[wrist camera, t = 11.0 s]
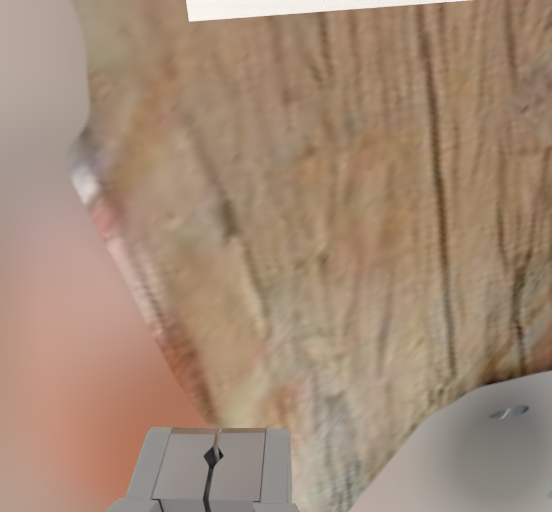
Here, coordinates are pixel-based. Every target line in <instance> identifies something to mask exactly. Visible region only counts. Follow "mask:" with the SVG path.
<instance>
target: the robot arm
mask: <svg viewBox="0 0 552 512" xmlns="http://www.w3.org/2000/svg"><path fill="white" fill-rule="evenodd" d="M106 512H300V511H299V510H298V508H297V506H296V504H295V503H292V468H291V437H290V429H267V428H223V429H222V431H221V433H220V430H219V429H203V428H202V429H201V428H175V427H151V429H150V430H149V432H148V433H147V435H146V438H145V441H144V444H143V447H142V450H141V453H140V456H139V458H138V462H137V464H136V467H135V470H134V473H133V476H132V479H131V482H130V485H129V488H128V491H127V494H126V497H125V499H117V500H116V502H114V504H112V505H111V506H110V507H109V508H108V509H107V510H106Z"/></svg>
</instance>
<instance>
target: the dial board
mask: <svg viewBox="0 0 552 512" xmlns="http://www.w3.org/2000/svg"><path fill="white" fill-rule="evenodd" d="M453 1H466V0H186V2H187V9H188V16H189V21H203V20H216V19H229V18H242V17H255V16H269V15H282V14H295V13H308V12H321V11H334V10H348V9H361V8H374V7H387V6H400V5H414V4H427V3H440V2H453Z"/></svg>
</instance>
